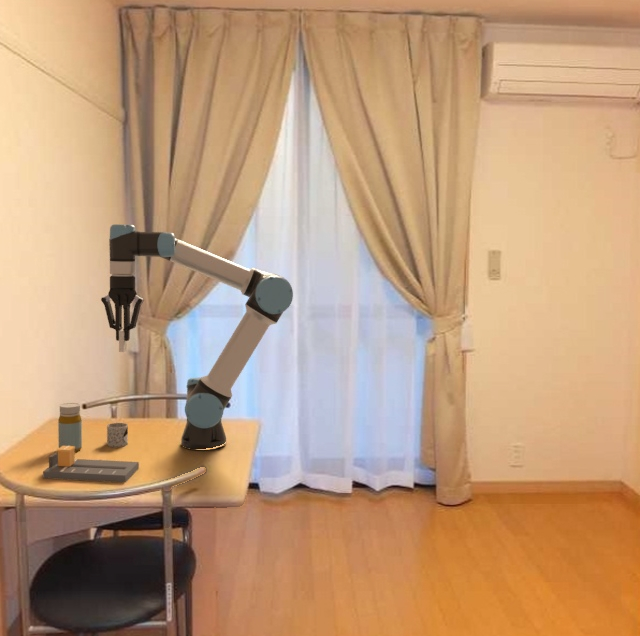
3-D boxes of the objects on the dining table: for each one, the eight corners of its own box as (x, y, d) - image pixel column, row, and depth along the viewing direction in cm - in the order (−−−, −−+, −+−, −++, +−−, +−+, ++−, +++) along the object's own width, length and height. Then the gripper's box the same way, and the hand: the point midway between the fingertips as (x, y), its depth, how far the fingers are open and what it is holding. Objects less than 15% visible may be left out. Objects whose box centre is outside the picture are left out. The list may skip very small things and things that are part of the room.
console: (138, 468, 205) (138, 452, 205) (125, 482, 193) (125, 465, 193) (60, 464, 206) (60, 448, 206) (43, 478, 194) (42, 461, 194)
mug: (128, 446, 226) (128, 427, 225) (107, 448, 224) (107, 428, 223) (126, 438, 235) (126, 419, 235) (106, 439, 233) (106, 420, 232)
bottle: (74, 454, 216) (73, 408, 214) (54, 452, 217) (53, 406, 216) (85, 448, 223) (85, 403, 221) (66, 446, 224) (66, 401, 223)
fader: (75, 462, 202) (75, 445, 201) (70, 466, 198) (69, 449, 197) (62, 462, 202) (62, 445, 201) (57, 466, 198) (57, 449, 197)
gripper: (147, 275, 211) (147, 350, 214) (105, 274, 212) (106, 348, 214) (139, 276, 204) (140, 353, 206) (97, 275, 204) (97, 352, 207)
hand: (122, 351), depth 210 cm, fingers closed
